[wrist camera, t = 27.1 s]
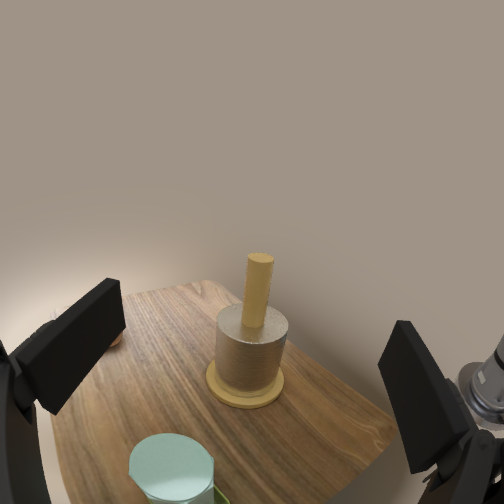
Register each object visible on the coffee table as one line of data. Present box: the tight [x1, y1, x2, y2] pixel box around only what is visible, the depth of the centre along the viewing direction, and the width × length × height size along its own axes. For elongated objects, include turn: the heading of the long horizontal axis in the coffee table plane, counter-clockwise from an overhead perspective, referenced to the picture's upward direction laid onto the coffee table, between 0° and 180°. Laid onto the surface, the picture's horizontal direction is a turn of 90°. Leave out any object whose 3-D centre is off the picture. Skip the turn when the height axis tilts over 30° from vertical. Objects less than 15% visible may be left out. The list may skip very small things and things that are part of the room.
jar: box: [128, 433, 214, 504], centre depth 20 cm, size 8×8×10 cm
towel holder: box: [206, 253, 288, 409], centre depth 41 cm, size 14×14×24 cm
